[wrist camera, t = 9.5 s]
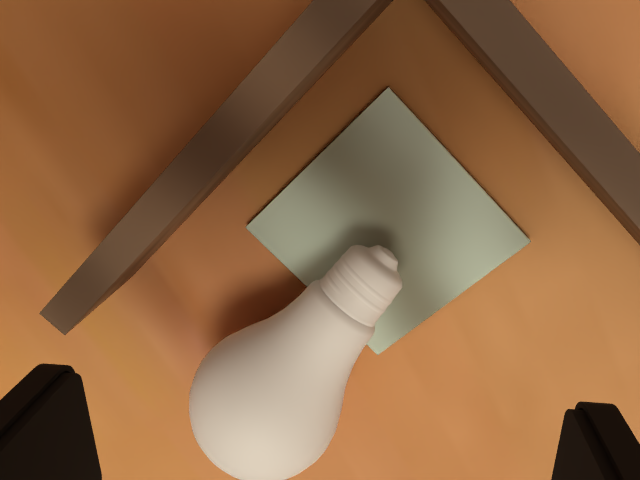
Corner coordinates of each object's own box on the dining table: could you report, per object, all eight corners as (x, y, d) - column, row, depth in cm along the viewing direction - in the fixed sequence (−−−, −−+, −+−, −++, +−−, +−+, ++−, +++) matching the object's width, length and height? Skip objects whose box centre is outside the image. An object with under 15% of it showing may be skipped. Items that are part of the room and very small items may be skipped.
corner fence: (385, 507, 27) (380, 607, 22) (110, 259, 24) (39, 313, 19) (735, 301, 20) (832, 380, 15) (412, -75, 17) (412, -114, 13)
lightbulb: (302, 180, 20) (146, 384, 22) (380, 267, 16) (175, 514, 18) (395, 240, 24) (255, 410, 26) (481, 324, 19) (302, 522, 22)
